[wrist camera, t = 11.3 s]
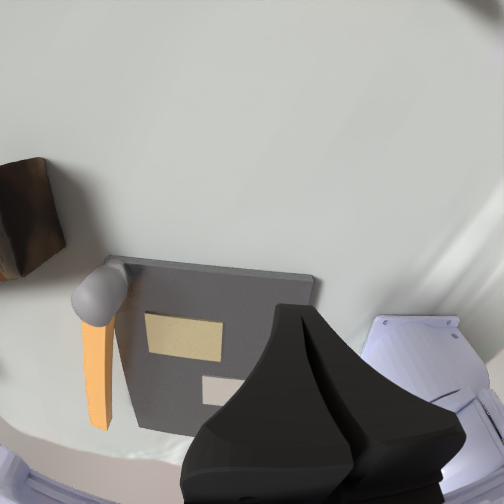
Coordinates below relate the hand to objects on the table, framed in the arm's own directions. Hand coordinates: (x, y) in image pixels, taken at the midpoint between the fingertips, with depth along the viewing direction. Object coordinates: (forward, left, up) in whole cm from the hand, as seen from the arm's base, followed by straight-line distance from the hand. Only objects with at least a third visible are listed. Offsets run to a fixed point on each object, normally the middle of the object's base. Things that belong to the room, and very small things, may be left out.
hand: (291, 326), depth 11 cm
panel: (+5, +14, -10) cm, 18 cm away
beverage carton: (+26, +2, -11) cm, 28 cm away
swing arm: (+13, +11, -8) cm, 18 cm away
